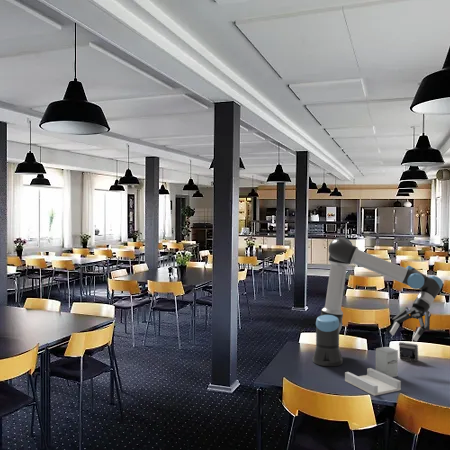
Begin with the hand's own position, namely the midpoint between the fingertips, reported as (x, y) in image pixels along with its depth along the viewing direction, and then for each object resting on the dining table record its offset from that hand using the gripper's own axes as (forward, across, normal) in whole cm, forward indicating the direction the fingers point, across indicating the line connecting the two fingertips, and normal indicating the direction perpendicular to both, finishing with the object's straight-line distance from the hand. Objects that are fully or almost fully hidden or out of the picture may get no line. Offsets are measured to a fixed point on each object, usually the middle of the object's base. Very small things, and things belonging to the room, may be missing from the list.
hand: (402, 336), depth 223 cm
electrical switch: (0, +10, -24) cm, 26 cm away
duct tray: (+31, -6, +7) cm, 32 cm away
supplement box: (+20, 0, -4) cm, 20 cm away
